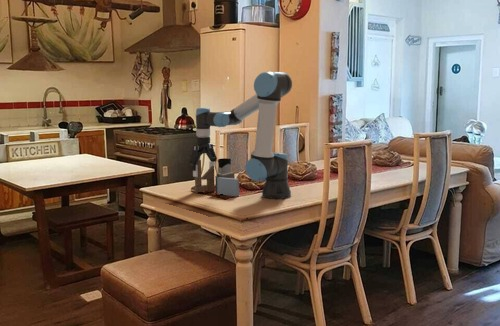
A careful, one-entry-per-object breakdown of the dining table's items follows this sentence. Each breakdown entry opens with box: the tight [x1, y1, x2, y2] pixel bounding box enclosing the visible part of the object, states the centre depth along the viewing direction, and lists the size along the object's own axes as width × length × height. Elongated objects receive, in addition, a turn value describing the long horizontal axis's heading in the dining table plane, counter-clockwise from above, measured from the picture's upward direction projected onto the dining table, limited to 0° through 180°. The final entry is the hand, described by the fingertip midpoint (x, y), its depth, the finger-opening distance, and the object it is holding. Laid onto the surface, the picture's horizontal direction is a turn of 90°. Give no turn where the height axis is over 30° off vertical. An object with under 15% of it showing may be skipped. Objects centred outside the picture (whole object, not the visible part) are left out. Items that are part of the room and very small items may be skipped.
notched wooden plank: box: [214, 171, 236, 194], centre depth 286 cm, size 2×15×11 cm, turn 144°
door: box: [217, 177, 240, 197], centre depth 278 cm, size 3×12×9 cm, turn 62°
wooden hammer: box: [193, 159, 216, 194], centre depth 287 cm, size 4×11×18 cm, turn 111°
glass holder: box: [214, 158, 232, 175], centre depth 311 cm, size 9×14×15 cm, turn 39°
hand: (203, 174), depth 287 cm, fingers open, 13 cm apart
